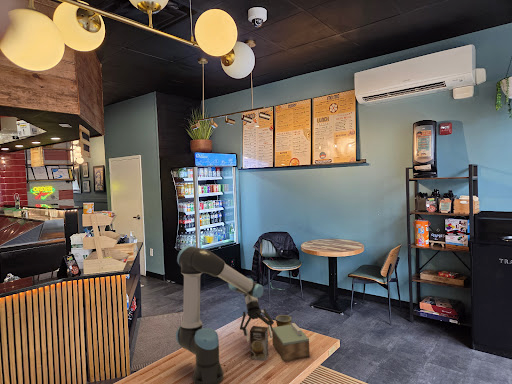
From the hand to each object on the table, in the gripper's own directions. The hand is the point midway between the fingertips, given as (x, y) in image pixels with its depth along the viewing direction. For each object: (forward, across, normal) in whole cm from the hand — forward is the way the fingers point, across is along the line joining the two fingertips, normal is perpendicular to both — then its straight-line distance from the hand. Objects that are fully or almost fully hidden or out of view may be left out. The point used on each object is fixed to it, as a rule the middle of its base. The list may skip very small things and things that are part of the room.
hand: (260, 339), depth 185 cm
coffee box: (+8, +1, -6) cm, 10 cm away
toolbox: (+7, -18, -6) cm, 20 cm away
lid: (+1, -18, 0) cm, 18 cm away
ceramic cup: (-8, -21, -22) cm, 32 cm away
